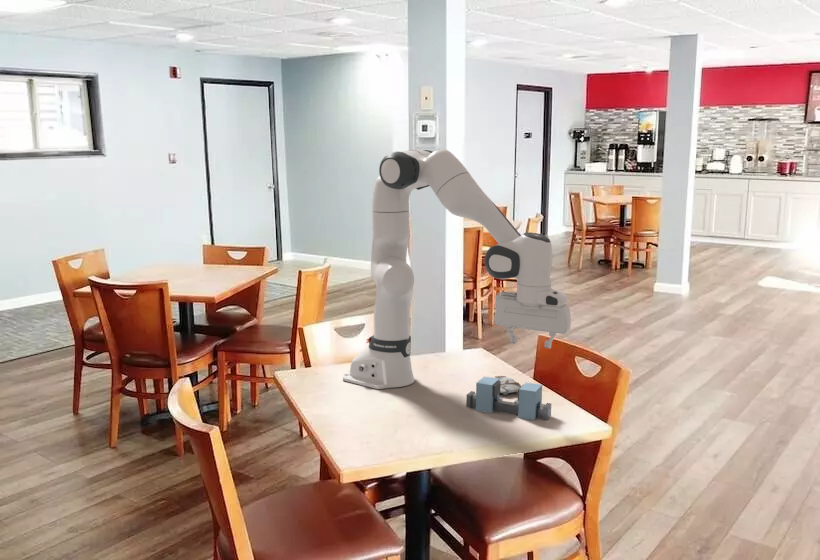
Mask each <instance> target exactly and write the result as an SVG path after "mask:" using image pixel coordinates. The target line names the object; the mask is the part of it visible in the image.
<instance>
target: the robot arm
mask: <svg viewBox="0 0 820 560" xmlns="http://www.w3.org/2000/svg"><path fill="white" fill-rule="evenodd" d="M378 171H379V176H378V177H377V178H376V180H375V181H374V185H373V192H372V202H371V203H372V205H371V206H372V209H371V210H372V212H371V215H372V217H371V219H372V221H371V222H372V242H371V253H370V254H371V259H370V276H371V279H372V281H373V283H374V284H375V286H376V291H375V302H374V310H373V335H372V336H369V338H367V339H366V342H365V343H366V344H368V347H366V348H365V349H364V350H363V351H361V352H360V353H359V354H357V355H355V356H354V357H353V359H352V360H351V363H350V368H349V370H348V371H346V372H345V373H344V374H343V375H342V380H343V381H345V382H348V383H352V384H355V385H360V386H363V387H367V388H372V389H375V390H383V389H391V388H401V387H406V386H409V385H411V384H412V385H413V384H414V383H415V381H416V380H415V376H414V371H413V368H412V360H411V353H412V337H411V334H410V332H411V331H410V330H411V329H410V323H411V321H410V320H411V318H410V316H411V315H410V314H411V305H412V298H413V293H414V292H413V289H414V283H415V275H414V272H413V269H412V267H411V266H410V265H409V264H408V263H407V256H408V255H407V253H408V245H409V240H410V195H411V193H412V192H413V191H414V190H417V191H419V190H421V189H425V188H427V187H430V188H431V190H432V191H433V192H434V194H435V196H436V197H437V198H438V200H439V202H440V203H441V205H442V206H444V208H445V209H446V210H447V211H448V212H449V213H451V214H452V215H454V216H457V217H460V218H465V219H469V220H472V221H474V222H476V223H478V224H480V225H482V226H483V227H484V228H485V229H486V230H487V232H488V233H489V234H490V235H491V236H492V238H493V239H494V240H495V241H496V243H497V244H495V245H492V246H491V247H490V248H488V249H487V251H486V252H485V255H484V267H485V270H486V272H487V273H488V274H489V276H491V277H492V278H494V279H498V280H508V279H515V280H516V292H509V291H500V292H499V293H497V294H496V296H495V301H494V302H495V306H496V307H495V312H494V317H493V318H494V319H493V321H494V324H495V325H497V326H501V327H506V332H507V334H508V337H509V338H510V339H509V342H510V344H517V343H518V336H517V335H515V333H514V331H513V330H514V329H515V328H516V329H523V330H530V331H531V330H532V331H538V332H545V333H548V336H549V337H550V338H549V339H548V340H545V341H544V347H543V348H544V349H549V350H550V349H551V348H552V342H553V340H554V339H555V338H556V337H557V334H561V335H562V334H563V335H565V334H567V333H568V332H569V331H570V329H571V325H572V322H571V321H572V320H571V318H572V317H571V311H570V307H569V306H568V305H567V303H568V300H569V297H568V295H567V294H565V293H562V292H560V291H558V290H556V289H554V288H552V287H551V286H552V282H551V272H552V267H553V247H552V246H553V245H552V241H551V239H550V238H549V237H548V236H546V235H543V234H541V233H537V232H523V233H522V234H521V233H520V232H519V231H518V230H517V229H516V228H515V227H514V225H513V224H512V223H511V221H510V220H509V219H508V218H507V217H506V215H504V213H503V212H502V211H501V209H500V208H499V207H498V206H497V205H496V203H495V202H493V201H492V200H491V198H489V196H488V195H487V194H486V193H485V192H484V191H483V190H482V188H481V187H480V186H479V184H478V183H477V182H476V181H475V179H474V177H473V176H472V174H471V173H470V172H469V170H468V169H467V168H466V167H465V166H464V164H463V163H462V162H461V161H460V160H459V159H458V158H457V156H455V155H454V153H452V152H451V151H450V150H447V149H437V150H435V151H432V150H428V149H409V150H403V151H394V152H391V153H389V154H387V155H385V156H384V157H383V158H382V160H381V161H380V163H379V169H378Z"/></svg>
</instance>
